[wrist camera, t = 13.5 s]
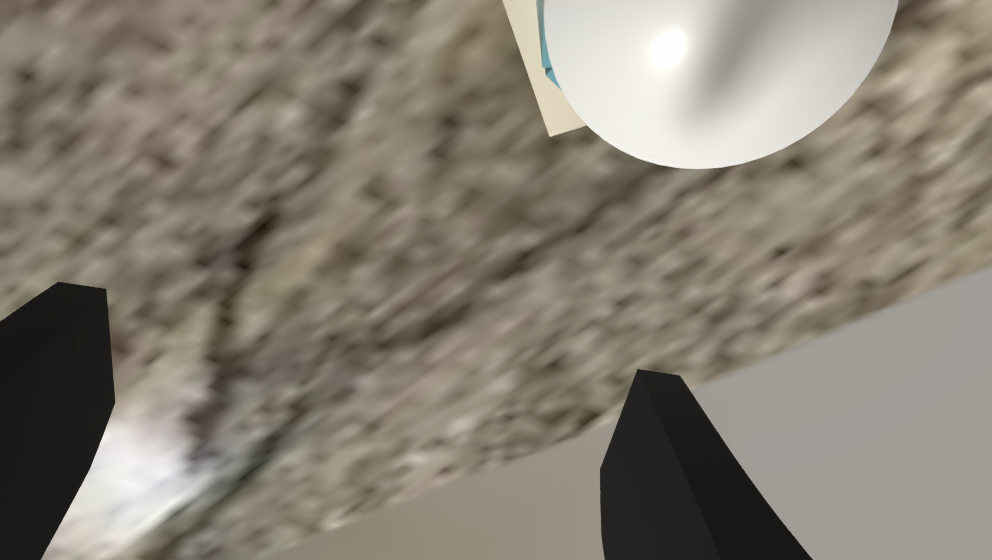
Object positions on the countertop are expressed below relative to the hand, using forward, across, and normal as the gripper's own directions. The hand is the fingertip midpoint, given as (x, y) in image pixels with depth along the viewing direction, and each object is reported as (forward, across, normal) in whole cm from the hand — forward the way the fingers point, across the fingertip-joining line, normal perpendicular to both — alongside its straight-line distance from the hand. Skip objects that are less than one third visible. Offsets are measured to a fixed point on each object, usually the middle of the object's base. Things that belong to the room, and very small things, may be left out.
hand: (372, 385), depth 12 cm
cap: (+9, -4, -5) cm, 11 cm away
